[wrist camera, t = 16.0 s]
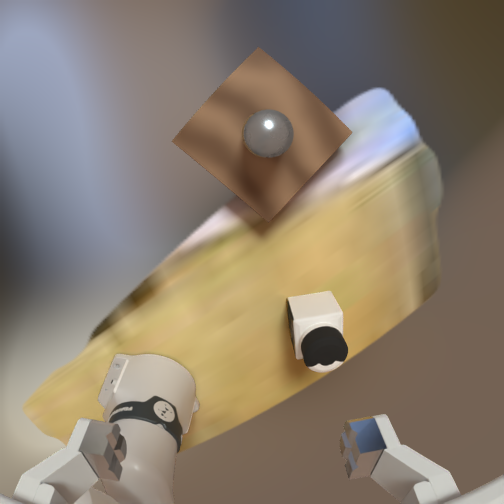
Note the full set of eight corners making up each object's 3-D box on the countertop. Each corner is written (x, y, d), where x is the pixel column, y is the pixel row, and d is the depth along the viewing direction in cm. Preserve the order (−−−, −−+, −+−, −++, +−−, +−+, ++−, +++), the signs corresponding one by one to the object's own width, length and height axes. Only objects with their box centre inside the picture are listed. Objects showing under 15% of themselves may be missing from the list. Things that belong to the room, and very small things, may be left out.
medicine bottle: (286, 296, 50) (299, 341, 39) (330, 289, 50) (354, 331, 39) (289, 334, 52) (301, 382, 41) (331, 327, 52) (352, 372, 41)
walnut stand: (265, 215, 45) (268, 222, 42) (177, 140, 41) (171, 141, 38) (342, 132, 42) (352, 132, 38) (256, 54, 38) (258, 47, 34)
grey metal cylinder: (277, 161, 39) (285, 166, 32) (235, 147, 38) (235, 150, 32) (291, 121, 37) (302, 118, 31) (249, 106, 37) (251, 100, 30)
